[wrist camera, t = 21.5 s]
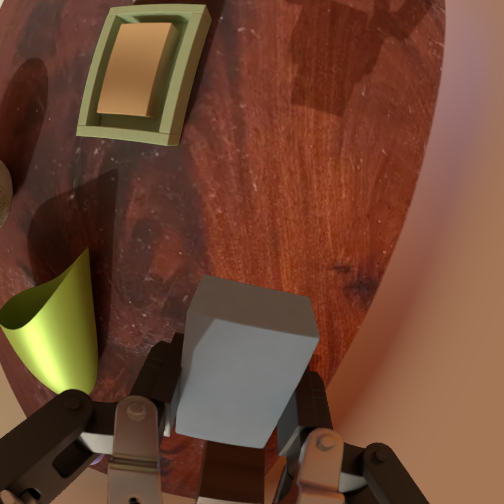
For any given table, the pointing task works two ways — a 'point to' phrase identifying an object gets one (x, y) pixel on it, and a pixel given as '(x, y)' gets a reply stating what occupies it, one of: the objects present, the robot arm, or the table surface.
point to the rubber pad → (242, 360)
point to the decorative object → (5, 192)
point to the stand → (231, 474)
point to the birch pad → (138, 69)
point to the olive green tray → (178, 83)
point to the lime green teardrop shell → (56, 329)
